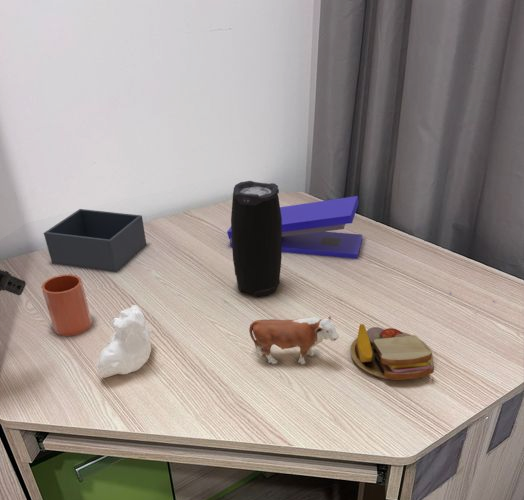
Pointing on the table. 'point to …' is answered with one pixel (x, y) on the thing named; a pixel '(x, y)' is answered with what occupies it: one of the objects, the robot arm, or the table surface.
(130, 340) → the bust
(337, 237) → the stapler
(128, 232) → the tub
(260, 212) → the portable speaker
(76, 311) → the rice cup
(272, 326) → the bull figurine
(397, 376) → the toy sandwich meal
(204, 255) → the table surface
